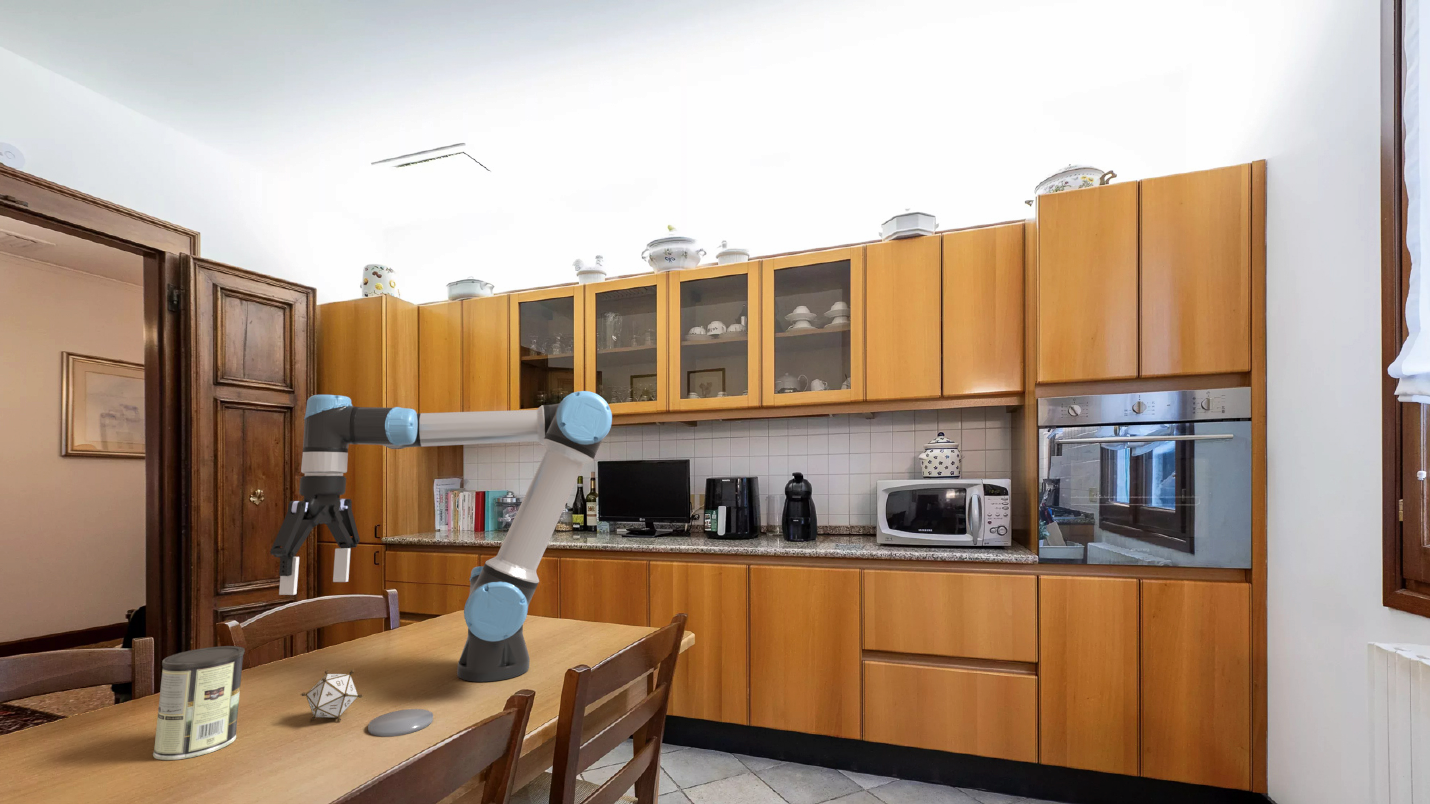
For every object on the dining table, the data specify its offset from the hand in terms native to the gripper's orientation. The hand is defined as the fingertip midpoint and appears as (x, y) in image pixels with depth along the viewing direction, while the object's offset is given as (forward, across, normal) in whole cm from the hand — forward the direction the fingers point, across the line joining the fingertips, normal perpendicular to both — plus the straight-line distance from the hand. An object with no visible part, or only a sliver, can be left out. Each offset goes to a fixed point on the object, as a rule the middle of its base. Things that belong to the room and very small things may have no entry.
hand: (315, 587), depth 115 cm
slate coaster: (+22, +5, +21) cm, 31 cm away
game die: (+22, +4, +7) cm, 24 cm away
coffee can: (+22, +16, -6) cm, 28 cm away
